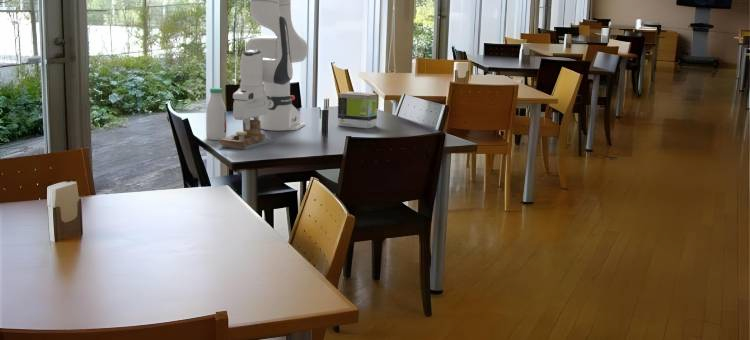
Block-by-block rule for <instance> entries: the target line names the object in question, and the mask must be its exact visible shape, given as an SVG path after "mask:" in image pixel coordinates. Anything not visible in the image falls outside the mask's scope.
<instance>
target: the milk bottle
mask: <svg viewBox="0 0 750 340" xmlns="http://www.w3.org/2000/svg"><path fill="white" fill-rule="evenodd" d="M209 92H210V93H209V94H210V98H209V101H208V104H207V105H206V117H205V118H206V119H205V120H206V121H205V123H206V126H205V130H206V133H205V134H206V136H205V137H206V139H207V140H210V141H220V139H223V138H226V137H227V109H226V105H225V102H224V101H223V97H222V94H223V89H222V88H221V87H211V88H210V89H209Z"/></svg>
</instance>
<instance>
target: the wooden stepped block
mask: <svg viewBox="0 0 750 340" xmlns="http://www.w3.org/2000/svg"><path fill="white" fill-rule="evenodd" d="M250 125H251V129H250V130H246V125H245V123H244V120H242V131H246V132H247V135H244V139H240V140H239V135H236V133H234V134H231V135H229V136H226V138H223V139H220V140H219V143H220V146H222V145H226V146H235V147H246V146H248V145H251V144H253V143H256V142H258V141H261V140H263V139H265V138H266V133H263V132H262V131H261V130H262V129H261V124H260V119H259V120H254V119H252V118H250Z"/></svg>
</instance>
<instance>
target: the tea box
mask: <svg viewBox="0 0 750 340" xmlns="http://www.w3.org/2000/svg"><path fill="white" fill-rule="evenodd" d="M377 121H378V93H377V92H376V93H374V92H373V93H372V92H362V91H361V92H360V91H344V92H343V91H342V92H339V93H337V126H340V127H348V128H349V127H350V128H358V129H359V128H360V129H370V128H375V127H376V126H377V124H378V123H377Z"/></svg>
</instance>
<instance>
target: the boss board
mask: <svg viewBox="0 0 750 340" xmlns="http://www.w3.org/2000/svg"><path fill="white" fill-rule="evenodd" d="M235 134H236V135H239V140H240V139H244V135H247V132H246V131H243V130H238V131H235ZM269 143H273V138H271V137H270V138H269V137H265V139H263V140H261V141H258V142H256V143H253V144H251V145H248V146H246V147H235V146H226V145H221V146H222V148H228V149H237V150H249V149H252V148H255V147H259V146H262V145H266V144H269Z"/></svg>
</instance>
